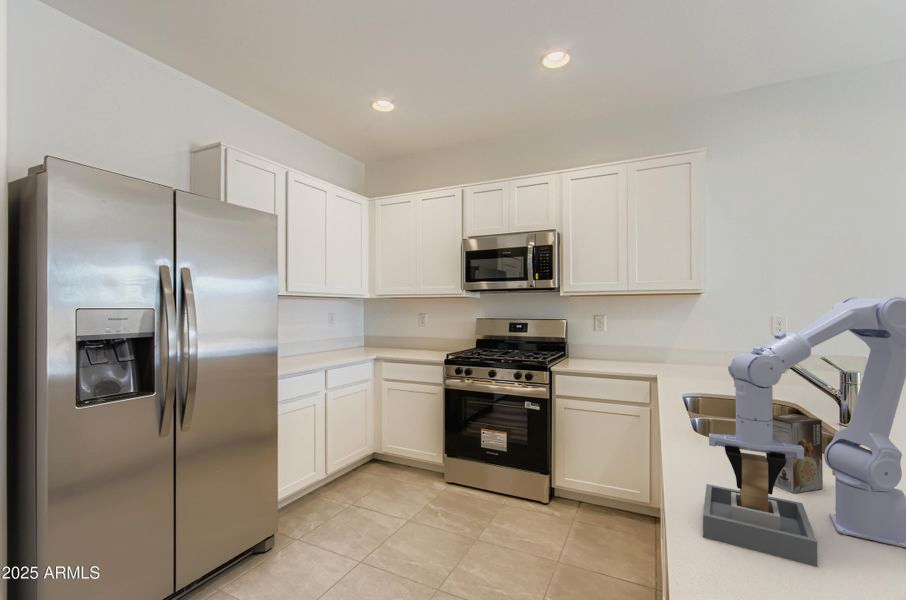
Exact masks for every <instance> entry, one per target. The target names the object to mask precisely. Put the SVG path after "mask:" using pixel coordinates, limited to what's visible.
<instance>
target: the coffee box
mask: <svg viewBox="0 0 906 600" xmlns="http://www.w3.org/2000/svg"><path fill="white" fill-rule="evenodd" d="M822 421H823V420H822V419H819V418H814V417H810V416H807V415H803V414H802V415H801V414H796V413H787V414H774V415H773V441H778V442H783V443H788V444H793V445H800V446H802V447H803V448H804V459H797V458H796V457H791V456H785V458H786V464H785V466H784V468H783V469H782V470H781V472H780V473H779V475H778V477H777V479H776V482H775V484H774V487H777V488H780V489H783V490H785V491H787V492H789V493H792V494H799V493H804V492H810V491H815V490H822V489H823V488H824V487H823V486H824V485H823V483H824V482H823V477H824V476H823V475H824V474H823V432H822V430H823V427H822V425H823V424H822Z"/></svg>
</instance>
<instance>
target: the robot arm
mask: <svg viewBox="0 0 906 600" xmlns="http://www.w3.org/2000/svg"><path fill="white" fill-rule="evenodd" d="M846 331H849V332H850V333H852V334H853V335H854V336H856V337H857V338H858V339H860V340H861V341H862V342H864V343H865V344H866V346H867V347H868V348H869V349H870V350H869V354H868V357H867V361H866V365H865V368H864V372H863V376H862V380H861V383H860V385H859V390H858V393H857V397H856V400H855V405H854V407H853V410H852V411H853V412H852V414H851V418H850V422H849V425H848V426H847V427H845V428H843V429H840V430H837V431H836V432H835V433H834V434H833V438H832V440H831V441H830V443H829V444H828V445H827V446H826V447H825V450H824V454H823V457H824V462H825V464H826V465H827V466H828V468H830V469H831V471H832V472H831V473H832V476H834V477H835V479H834V481H835V482H834V483H835V513H833V512H830V513H829V517H830V519H831V522H832V523H833V525H834V527H835V529H836V531H837V532H838V533H839V534H843V535H849V536H852V537H856V538H860V539H865V540H871V541H876V542H880V543H884V544H888V545H893V546H897V547H901V548H902V547H903V548H906V494H905V493H904V491H903V490H902V489H899V488H896V487H897V486H898V485H899V484H900V482H901V480H902V476H903V475H902V474H903V472H902V465H901V461H902V456H903V453H902V451H900V449H899V448H898V447H897V446H896V445H895V444H894V443H893V442H892V440H891V439H890V434H891V430H892V428H893V424H894V420H895V417H896V412H897V409H898V406H899V402H900V398H901V395H902V392H903V387H904V385H905V384H904V383H905V381H906V298H905V297H901V296H892V297H865V298H864V297H861V298H860V297H847V298H844V299H843V300H842V301H840V302H837V303H835V304H833V305H832V307H831V310H829V311H827V312H826V313H825V314H824V315H822V316H820V317H819V318H817V319H815V320H814V321H812V323H809V325H807V326H805V327H804V328H802V329H800V330H799V331H798V332H796V333H795V332H791V331H786V332H780V331H779V332H777V333H775V334H773V337H774V338H772V339H771V340H769V341H767V342H765V343H764V344H762V345H760V346H758V345H757V346H755V347H753V348H752V351H751V352H750V353H748V352H742V353H741V352H740V353H739V354H737V355H736V356H734V358H733V359H732V360H731V363H730V365H728V366H727V371H728V374H729V375H730V377H731V378H732V380H733V387H734V388H735V434H720V433H718V434H717V433H711V432H710V433H709V432H708V445H709V446H710V447H721V448H722V447H723V448H724V451H725V452H724V453H725V455H726V457H727V459H728V461H729V462H730V465H731V468H732V470H733V473H734V476H735V480H736V481H735V482H736V488H737V489H739V490H740V489H742V479H741V452H742V451H741V450H744V451H750V452H757V453H764V454H765V457H766V459H767V461H768V495H773V491H774V487H775V485H774V484H775V482H776V479H777V477H778V475H779V473H780V472H781V470H782V469H783V468H784V466H785V464H786V458H785V456H791V457H796V458H797V459H804V448H803V447H802V446H800V445H793V444H788V443H783V442H778V441H773V416H774V415H773V414H774V413H773V412H774V411H773V406H774V405H773V397H774V395H773V392H774V391H773V386H775V385H778V383H779V382H780V380H781V378H782V374H783V373H785V372H786V371H787V370H789V369H791V368H792V367H794V366H796V365H798V364H800V363H801V362H803V361H805V360H807V359H809V357H811V355H812V348H814V347H816V346H819V345H820V344H822V343H824V342H826V341H828V340H830V339H832V338H834V337H836V336H838V335H840V334H843V333H845V332H846ZM862 446H864V447H866V448H864V447H862Z"/></svg>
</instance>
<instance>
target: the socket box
mask: <svg viewBox="0 0 906 600" xmlns="http://www.w3.org/2000/svg"><path fill="white" fill-rule="evenodd" d="M702 517H703V518H702V537H703V538H706V539H709V540H713V541H717V542H720V543H725V544H728V545H732V546H736V547H740V548H744V549H748V550H752V551H755V552H760V553H763V554H766V555H767V554H768V555H770V556H771V555H772V556H774V557H779V558H783V559H787V560H789V561H790V560H792V561H794V562H798V563H801V564H802V563H803V564H805V565H810V566H814V567H818V540H817V538H816V535H815V532H814V530H813V526H812V524H811V522H810V520H809V519H810V518H809V517H808V515H807V511H806V509H805V507H804V504H803V502H800V501H799V502H798V501H793V500H790V499H784V498H780V497H773V496H769V495H768V512H766V511H761V510H756V509H751V508H746V507H742V504H741V500H740V489H739V490H738V489H734V488H729V487H725V486H724V487H723V486H719V485H713V484H708V483H706V486H705V495H704V504H703V513H702Z"/></svg>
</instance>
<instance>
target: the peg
mask: <svg viewBox="0 0 906 600" xmlns="http://www.w3.org/2000/svg"><path fill="white" fill-rule="evenodd" d="M741 479H742V489H739V490H740V500H741V504H742V507H746V508H751V509H756V510H761V511H766V512H768V496H769V494H768V461H767V459H766V455H762V454H761V455H760V454H754V453H748V452H742V451H741Z"/></svg>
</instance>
